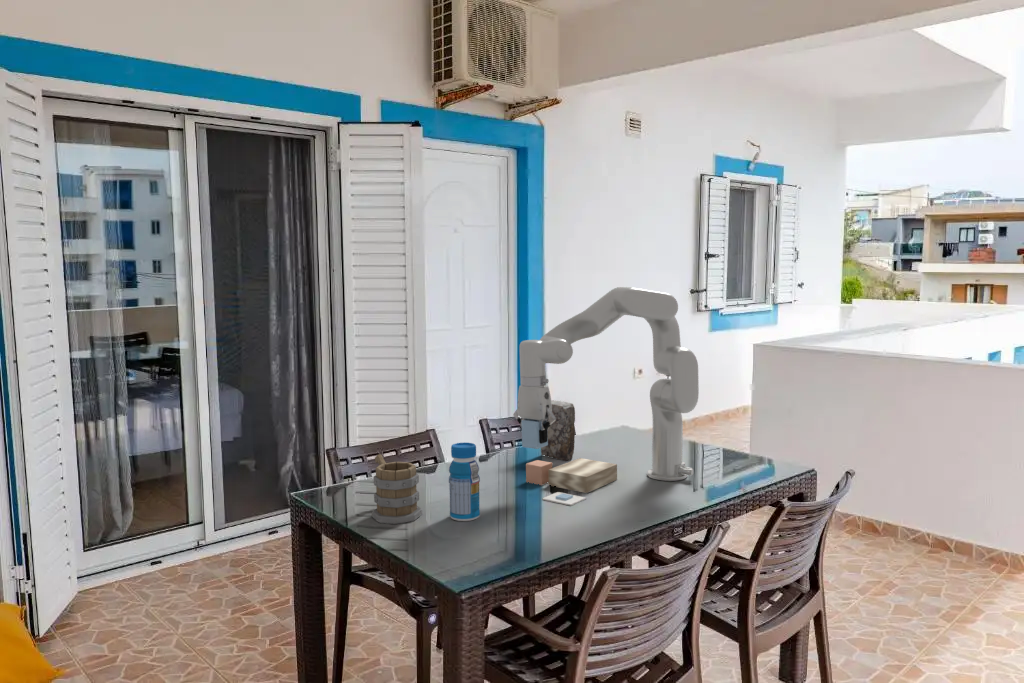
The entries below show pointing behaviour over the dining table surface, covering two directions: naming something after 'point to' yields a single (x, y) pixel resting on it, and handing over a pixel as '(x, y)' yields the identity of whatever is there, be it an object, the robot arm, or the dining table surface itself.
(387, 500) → the tankard
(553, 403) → the stone block
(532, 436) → the blue block
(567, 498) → the card
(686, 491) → the dining table surface
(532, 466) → the terracotta cube
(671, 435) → the robot arm
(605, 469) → the ash base block
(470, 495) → the beverage bottle
